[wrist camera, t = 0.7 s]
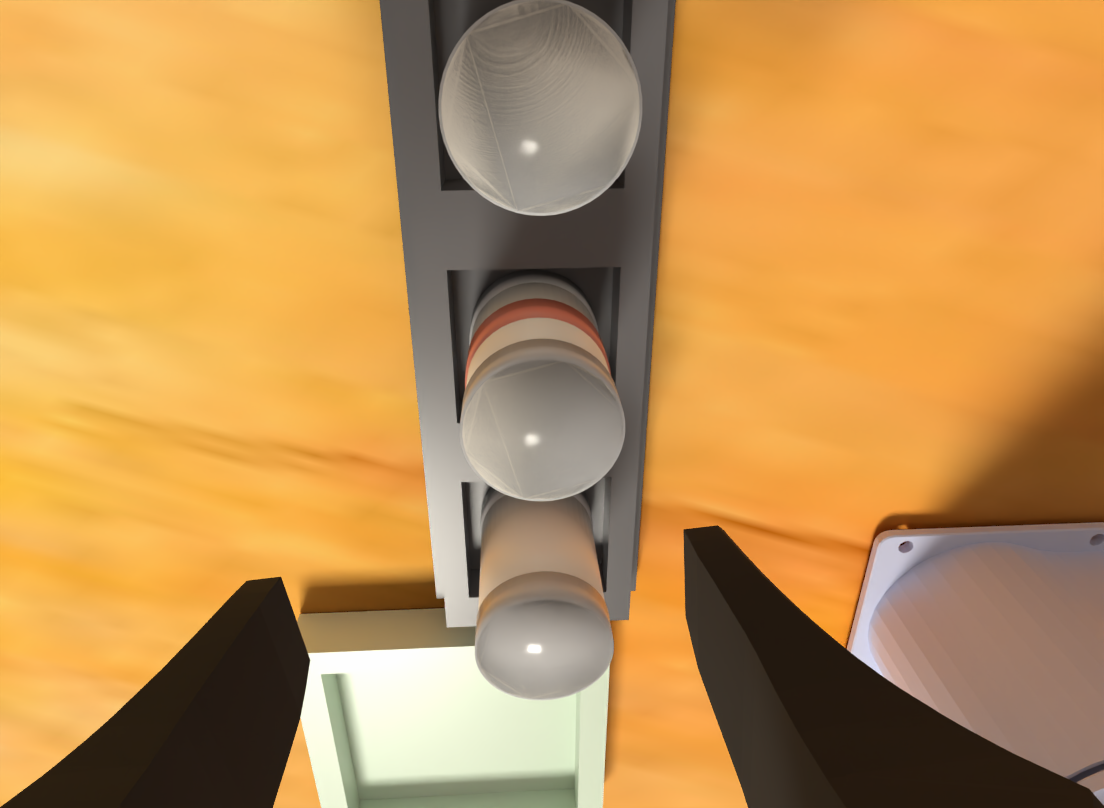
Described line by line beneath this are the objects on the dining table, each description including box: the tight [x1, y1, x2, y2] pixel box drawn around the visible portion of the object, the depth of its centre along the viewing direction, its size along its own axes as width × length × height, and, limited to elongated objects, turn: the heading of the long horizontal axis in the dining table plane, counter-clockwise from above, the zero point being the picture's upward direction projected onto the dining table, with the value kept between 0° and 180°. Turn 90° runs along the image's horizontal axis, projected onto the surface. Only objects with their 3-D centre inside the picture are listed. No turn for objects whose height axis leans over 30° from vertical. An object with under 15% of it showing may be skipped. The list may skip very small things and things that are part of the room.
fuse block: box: [380, 0, 676, 627], centre depth 21 cm, size 7×20×2 cm, turn 0°
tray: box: [297, 608, 610, 808], centre depth 29 cm, size 11×11×2 cm
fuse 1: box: [438, 0, 642, 216], centre depth 16 cm, size 4×4×6 cm
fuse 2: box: [475, 487, 614, 700], centre depth 22 cm, size 4×4×6 cm
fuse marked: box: [460, 269, 625, 501], centre depth 19 cm, size 4×4×6 cm
